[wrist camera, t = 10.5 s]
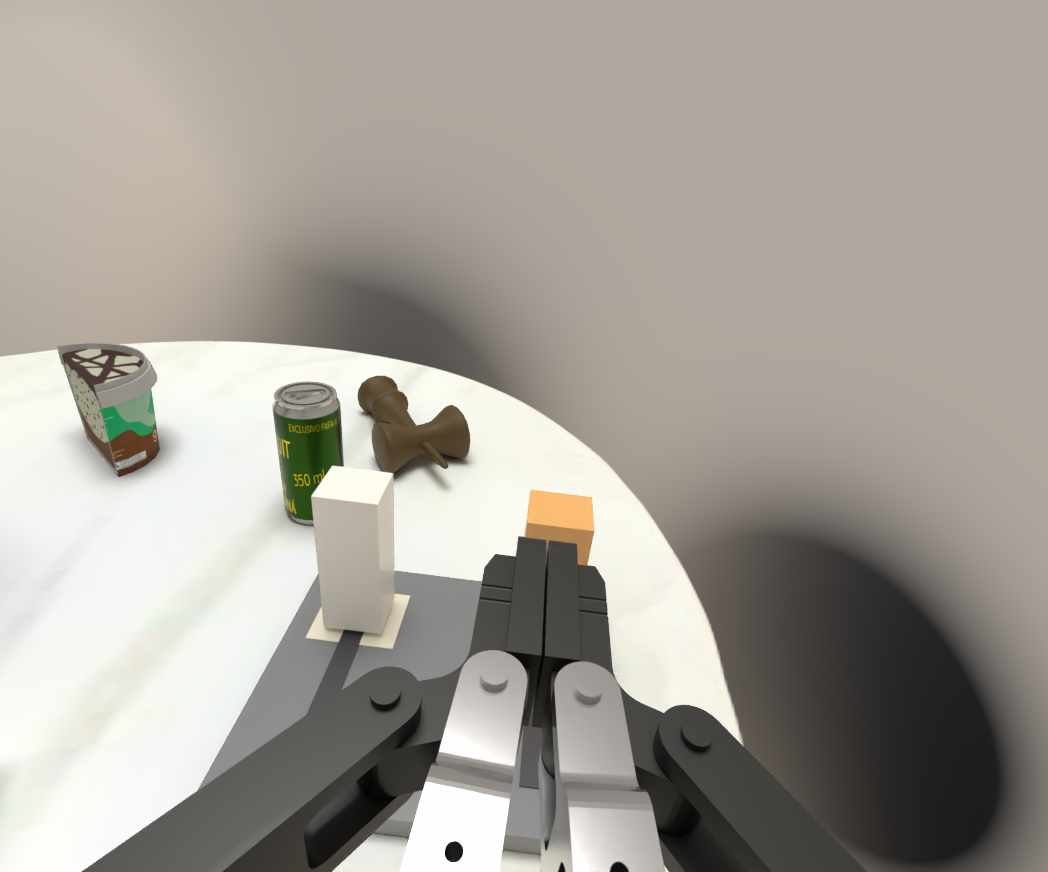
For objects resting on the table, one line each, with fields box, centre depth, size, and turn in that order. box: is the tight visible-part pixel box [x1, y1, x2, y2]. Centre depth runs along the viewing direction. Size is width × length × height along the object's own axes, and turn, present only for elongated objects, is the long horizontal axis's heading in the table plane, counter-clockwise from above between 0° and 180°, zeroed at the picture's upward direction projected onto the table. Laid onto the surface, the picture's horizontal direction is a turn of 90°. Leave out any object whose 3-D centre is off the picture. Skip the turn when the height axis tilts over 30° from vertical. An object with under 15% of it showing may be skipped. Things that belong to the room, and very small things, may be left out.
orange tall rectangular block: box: [525, 490, 594, 565], centre depth 38 cm, size 4×4×11 cm
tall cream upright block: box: [311, 466, 395, 634], centre depth 38 cm, size 4×4×11 cm
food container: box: [57, 343, 160, 477], centre depth 57 cm, size 12×6×10 cm, turn 48°
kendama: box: [358, 376, 470, 474], centre depth 64 cm, size 6×10×20 cm
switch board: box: [198, 571, 542, 854], centre depth 38 cm, size 18×22×2 cm
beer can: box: [272, 382, 344, 525], centre depth 51 cm, size 5×5×12 cm
